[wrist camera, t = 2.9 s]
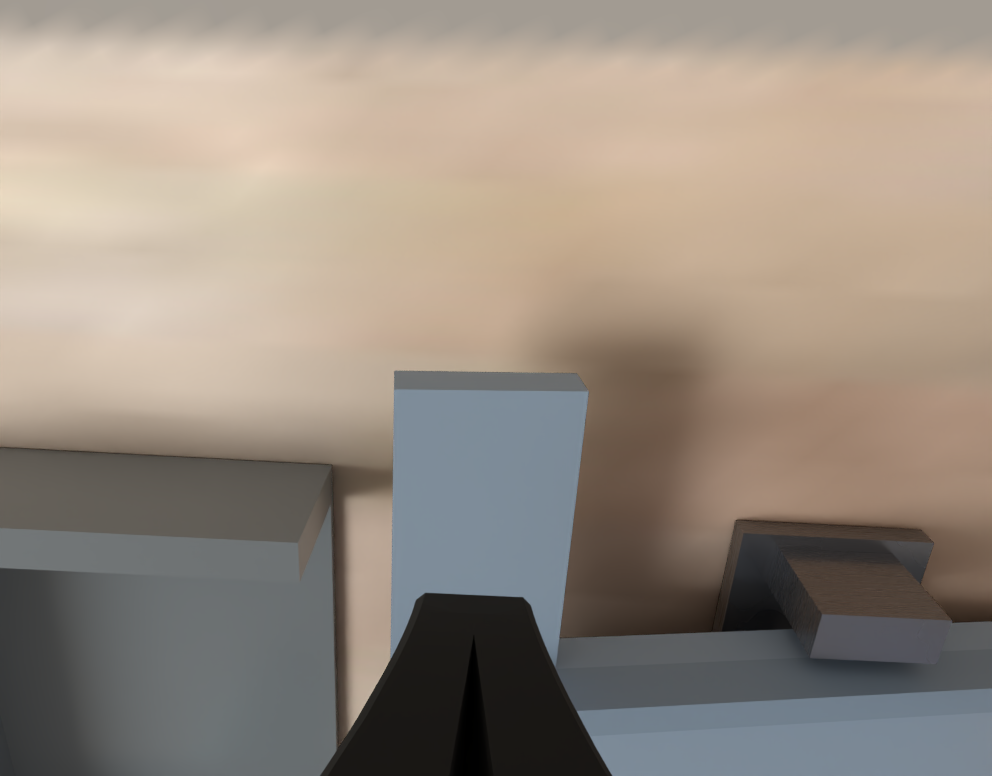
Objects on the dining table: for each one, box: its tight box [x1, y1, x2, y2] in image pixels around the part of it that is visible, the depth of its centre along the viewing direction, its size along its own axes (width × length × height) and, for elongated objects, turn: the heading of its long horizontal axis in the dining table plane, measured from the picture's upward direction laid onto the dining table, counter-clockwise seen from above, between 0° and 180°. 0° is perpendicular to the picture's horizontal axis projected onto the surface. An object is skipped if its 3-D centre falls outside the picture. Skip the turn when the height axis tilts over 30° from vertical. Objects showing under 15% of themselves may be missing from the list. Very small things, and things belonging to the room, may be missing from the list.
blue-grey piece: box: [391, 371, 992, 776], centre depth 14 cm, size 13×18×3 cm
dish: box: [0, 448, 338, 776], centre depth 16 cm, size 12×9×3 cm
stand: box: [712, 520, 952, 664], centre depth 16 cm, size 10×4×3 cm, turn 176°
